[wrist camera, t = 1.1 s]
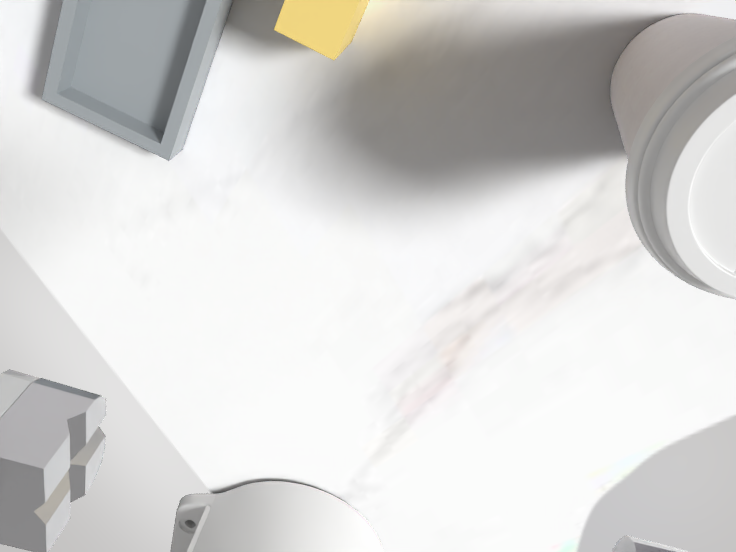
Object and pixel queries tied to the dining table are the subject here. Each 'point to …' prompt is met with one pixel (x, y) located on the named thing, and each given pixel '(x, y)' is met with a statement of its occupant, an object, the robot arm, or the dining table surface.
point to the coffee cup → (682, 145)
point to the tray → (135, 66)
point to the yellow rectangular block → (321, 23)
